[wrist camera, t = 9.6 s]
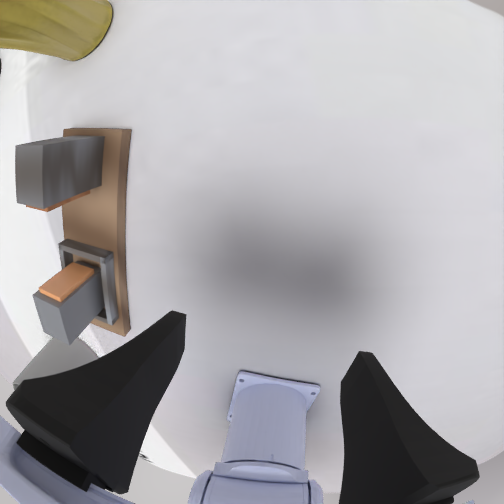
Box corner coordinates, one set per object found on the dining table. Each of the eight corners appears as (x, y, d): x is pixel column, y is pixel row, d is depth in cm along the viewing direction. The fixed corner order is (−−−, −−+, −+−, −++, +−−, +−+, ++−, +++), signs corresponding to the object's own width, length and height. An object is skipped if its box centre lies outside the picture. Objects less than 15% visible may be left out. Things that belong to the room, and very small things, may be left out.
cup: (109, 388, 30) (76, 443, 21) (64, 364, 31) (28, 411, 22) (99, 346, 27) (53, 408, 18) (49, 321, 27) (3, 370, 18)
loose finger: (107, 303, 22) (69, 345, 17) (82, 294, 22) (44, 331, 17) (103, 264, 20) (57, 303, 15) (77, 256, 20) (31, 290, 15)
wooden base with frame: (130, 329, 24) (93, 380, 18) (83, 310, 25) (43, 353, 18) (131, 129, 17) (60, 136, 10) (73, 128, 17) (5, 138, 11)
